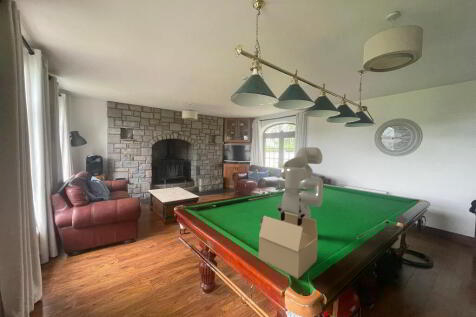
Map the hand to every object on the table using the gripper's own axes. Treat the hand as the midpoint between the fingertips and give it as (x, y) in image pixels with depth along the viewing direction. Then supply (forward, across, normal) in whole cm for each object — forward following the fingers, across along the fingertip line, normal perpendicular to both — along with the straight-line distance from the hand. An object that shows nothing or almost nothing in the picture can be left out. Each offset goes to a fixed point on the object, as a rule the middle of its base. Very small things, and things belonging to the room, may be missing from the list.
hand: (290, 222), depth 98 cm
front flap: (+2, 0, +11) cm, 11 cm away
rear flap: (+2, 0, -7) cm, 8 cm away
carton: (+19, 0, +2) cm, 19 cm away
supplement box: (+20, +18, -5) cm, 27 cm away
